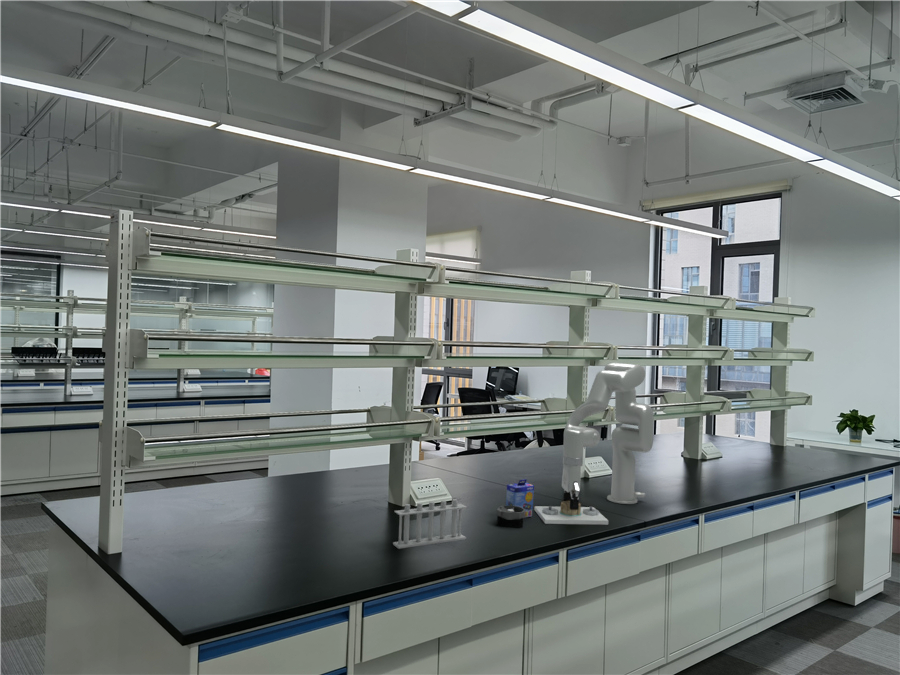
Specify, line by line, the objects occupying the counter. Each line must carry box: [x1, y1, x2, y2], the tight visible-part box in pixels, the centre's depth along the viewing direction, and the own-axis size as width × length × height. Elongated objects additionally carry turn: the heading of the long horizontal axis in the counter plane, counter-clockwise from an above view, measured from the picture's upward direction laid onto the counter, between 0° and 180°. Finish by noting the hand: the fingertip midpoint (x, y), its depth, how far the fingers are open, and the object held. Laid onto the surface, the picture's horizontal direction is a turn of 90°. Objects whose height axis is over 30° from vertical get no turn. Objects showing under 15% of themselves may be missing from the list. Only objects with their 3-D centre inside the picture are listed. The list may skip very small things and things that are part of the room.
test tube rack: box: [392, 498, 468, 550], centre depth 214 cm, size 25×4×13 cm, turn 119°
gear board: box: [534, 503, 609, 526], centre depth 250 cm, size 24×18×5 cm
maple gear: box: [560, 500, 582, 516], centre depth 250 cm, size 8×8×4 cm
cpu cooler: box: [496, 505, 526, 529], centre depth 239 cm, size 10×6×10 cm
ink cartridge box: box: [505, 478, 535, 518], centre depth 248 cm, size 10×6×14 cm, turn 125°
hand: (570, 506), depth 250 cm, fingers open, 8 cm apart
